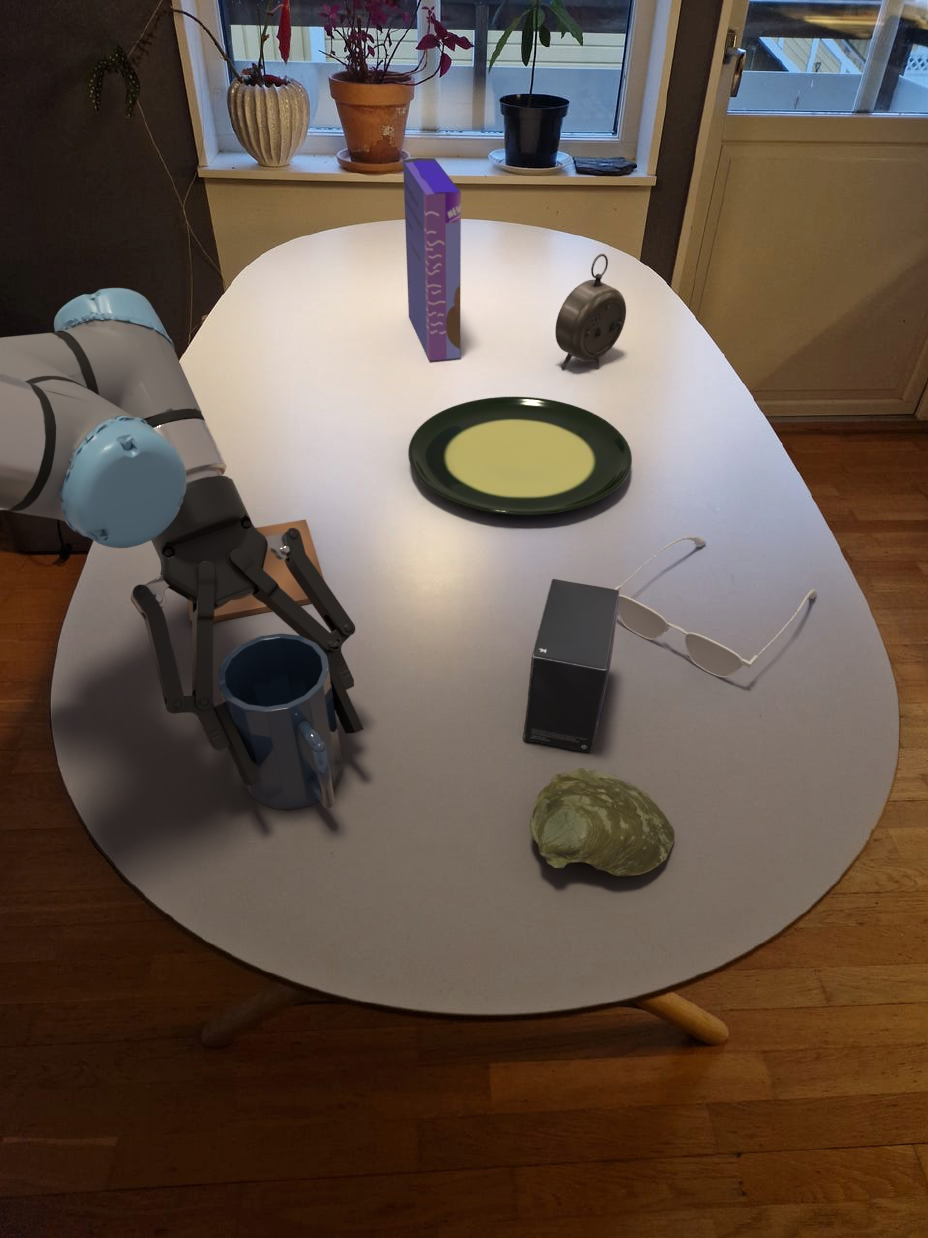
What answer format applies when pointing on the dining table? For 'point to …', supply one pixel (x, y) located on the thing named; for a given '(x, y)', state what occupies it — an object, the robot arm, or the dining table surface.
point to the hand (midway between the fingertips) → (305, 756)
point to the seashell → (600, 824)
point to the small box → (571, 665)
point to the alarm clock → (590, 319)
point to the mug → (285, 718)
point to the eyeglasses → (698, 646)
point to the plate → (519, 455)
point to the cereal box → (433, 257)
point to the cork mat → (274, 570)
